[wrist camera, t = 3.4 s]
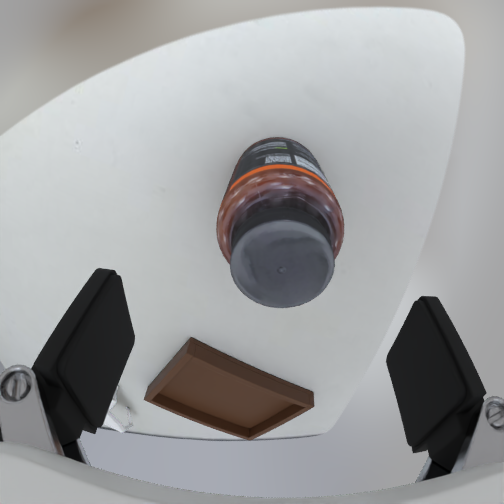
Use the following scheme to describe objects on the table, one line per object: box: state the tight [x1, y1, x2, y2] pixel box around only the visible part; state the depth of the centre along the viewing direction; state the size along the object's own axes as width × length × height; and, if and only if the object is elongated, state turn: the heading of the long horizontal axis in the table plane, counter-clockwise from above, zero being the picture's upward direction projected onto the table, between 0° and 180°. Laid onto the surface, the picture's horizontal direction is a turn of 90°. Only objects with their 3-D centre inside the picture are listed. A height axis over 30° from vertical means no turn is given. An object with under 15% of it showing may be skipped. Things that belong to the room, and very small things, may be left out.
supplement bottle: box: [216, 137, 344, 308], centre depth 16 cm, size 6×6×11 cm
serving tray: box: [144, 337, 314, 440], centre depth 35 cm, size 17×14×2 cm
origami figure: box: [103, 386, 133, 433], centre depth 37 cm, size 12×8×5 cm
